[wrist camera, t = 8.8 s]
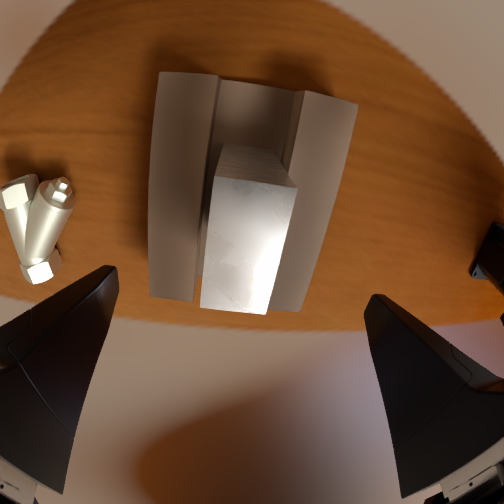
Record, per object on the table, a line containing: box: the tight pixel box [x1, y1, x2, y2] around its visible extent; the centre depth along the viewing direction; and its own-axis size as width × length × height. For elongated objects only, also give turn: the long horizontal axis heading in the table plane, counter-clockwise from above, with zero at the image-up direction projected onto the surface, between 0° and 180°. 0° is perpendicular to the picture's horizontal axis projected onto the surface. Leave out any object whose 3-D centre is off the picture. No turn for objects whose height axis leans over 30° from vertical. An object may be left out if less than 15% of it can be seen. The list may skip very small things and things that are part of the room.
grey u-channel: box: [148, 72, 359, 312], centre depth 17 cm, size 10×14×4 cm
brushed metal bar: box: [200, 143, 297, 314], centre depth 15 cm, size 3×6×8 cm, turn 170°
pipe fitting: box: [0, 174, 76, 284], centre depth 17 cm, size 8×4×7 cm
